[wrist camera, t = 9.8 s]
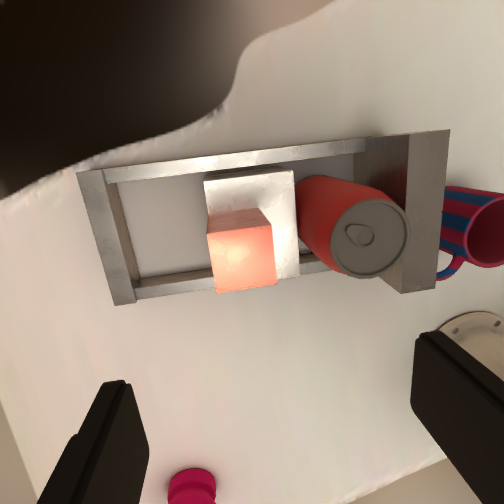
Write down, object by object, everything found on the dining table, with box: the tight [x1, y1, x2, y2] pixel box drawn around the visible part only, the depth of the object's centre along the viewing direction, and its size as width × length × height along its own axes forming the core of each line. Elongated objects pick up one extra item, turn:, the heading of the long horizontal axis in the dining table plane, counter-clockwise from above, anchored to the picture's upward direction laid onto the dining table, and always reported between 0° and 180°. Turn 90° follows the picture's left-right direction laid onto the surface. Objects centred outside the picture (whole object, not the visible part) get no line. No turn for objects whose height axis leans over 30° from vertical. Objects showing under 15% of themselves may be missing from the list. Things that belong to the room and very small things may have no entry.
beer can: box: [294, 176, 411, 279], centre depth 26 cm, size 7×7×12 cm
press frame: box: [76, 129, 450, 306], centre depth 27 cm, size 28×12×9 cm, turn 96°
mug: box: [436, 186, 504, 281], centre depth 31 cm, size 7×10×7 cm
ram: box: [203, 167, 300, 293], centre depth 25 cm, size 7×9×12 cm
